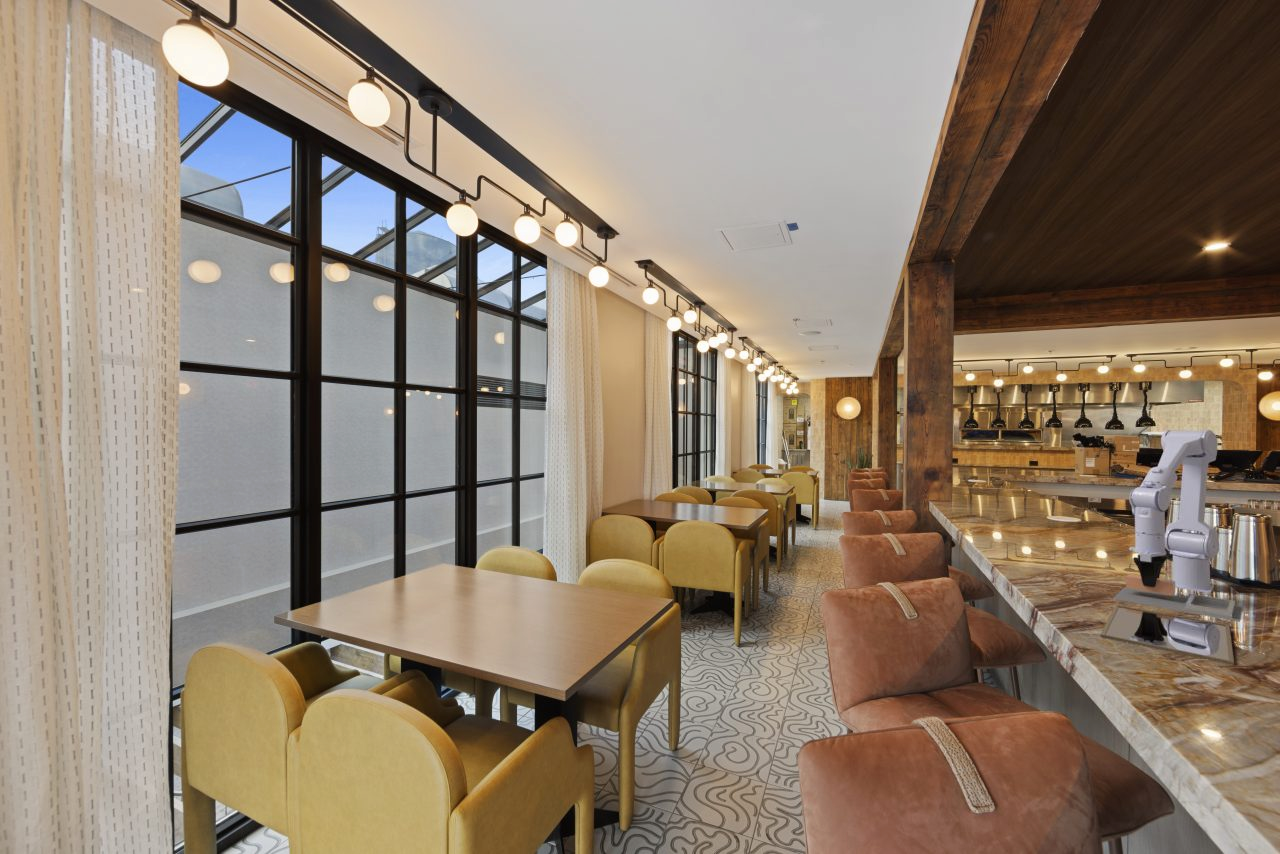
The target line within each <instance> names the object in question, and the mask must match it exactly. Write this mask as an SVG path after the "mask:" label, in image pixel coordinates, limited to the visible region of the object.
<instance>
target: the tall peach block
mask: <svg viewBox="0 0 1280 854" xmlns="http://www.w3.org/2000/svg"><path fill="white" fill-rule="evenodd" d="M1125 581H1126V586H1125V587H1126V588H1130V589H1136V590H1142V591H1148V592H1154V593H1160V594H1166V595H1172V596H1174V595H1175V594H1176V588H1175V581H1173V579H1172V580H1170V579H1165V578H1160V577H1159V578H1157V581H1156V585H1155V587H1148V586H1144V585H1143V582H1142V579H1141V575H1138V574H1131V573H1129V574H1127V575H1126V576H1125Z"/></svg>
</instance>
